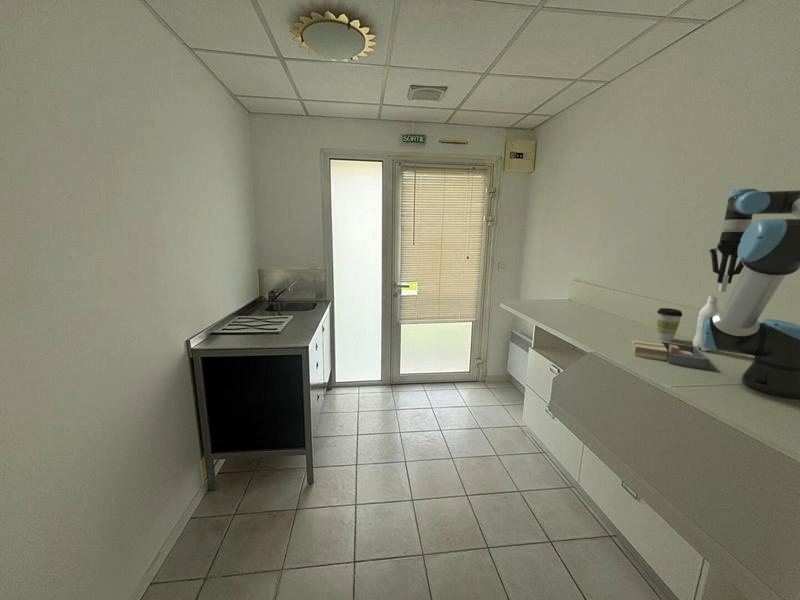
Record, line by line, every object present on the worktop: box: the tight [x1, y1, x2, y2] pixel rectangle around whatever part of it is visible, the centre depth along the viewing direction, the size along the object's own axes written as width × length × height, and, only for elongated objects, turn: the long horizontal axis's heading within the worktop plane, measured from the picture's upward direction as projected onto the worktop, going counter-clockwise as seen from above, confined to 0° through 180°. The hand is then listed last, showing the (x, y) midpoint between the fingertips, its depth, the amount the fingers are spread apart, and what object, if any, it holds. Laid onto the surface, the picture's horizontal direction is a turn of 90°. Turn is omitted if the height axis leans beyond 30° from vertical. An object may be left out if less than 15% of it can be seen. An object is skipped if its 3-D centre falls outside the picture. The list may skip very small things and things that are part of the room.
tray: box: [660, 341, 710, 370], centre depth 138 cm, size 18×12×4 cm, turn 150°
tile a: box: [668, 344, 679, 355], centre depth 139 cm, size 4×4×2 cm
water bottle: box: [692, 295, 720, 352], centre depth 147 cm, size 7×7×25 cm
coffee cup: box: [656, 307, 683, 342], centre depth 163 cm, size 10×10×15 cm
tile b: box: [678, 350, 693, 357], centre depth 138 cm, size 4×4×2 cm
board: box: [630, 338, 668, 362], centre depth 143 cm, size 12×11×4 cm
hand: (722, 291), depth 131 cm, fingers closed
